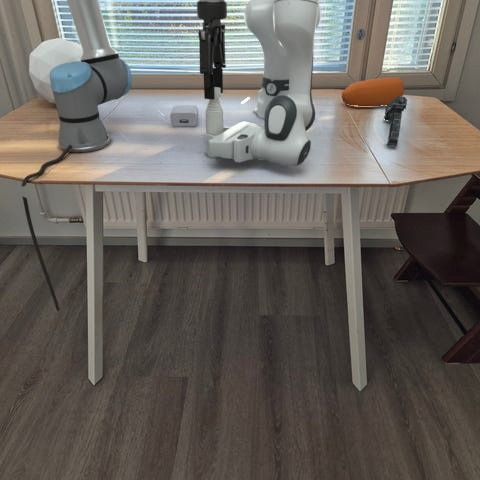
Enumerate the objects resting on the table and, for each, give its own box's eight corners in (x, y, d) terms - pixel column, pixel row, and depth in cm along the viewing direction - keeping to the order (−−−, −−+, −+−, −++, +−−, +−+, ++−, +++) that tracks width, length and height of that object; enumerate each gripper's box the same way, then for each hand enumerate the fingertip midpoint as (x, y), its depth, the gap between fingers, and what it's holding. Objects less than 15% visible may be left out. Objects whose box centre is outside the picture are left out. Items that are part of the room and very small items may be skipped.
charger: (199, 113, 156) (197, 126, 144) (175, 113, 156) (171, 126, 143) (198, 100, 153) (196, 113, 141) (174, 100, 153) (170, 113, 141)
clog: (345, 115, 162) (406, 107, 163) (347, 87, 156) (410, 79, 157) (336, 106, 172) (394, 98, 173) (337, 80, 166) (397, 72, 167)
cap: (216, 98, 112) (215, 91, 111) (204, 96, 113) (204, 89, 112) (223, 95, 115) (223, 88, 113) (211, 93, 116) (211, 86, 115)
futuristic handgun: (389, 146, 153) (397, 104, 149) (399, 145, 125) (409, 94, 122) (379, 144, 154) (386, 103, 150) (386, 144, 126) (395, 93, 122)
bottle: (207, 157, 122) (205, 94, 111) (206, 151, 126) (204, 89, 115) (224, 157, 122) (223, 93, 112) (222, 150, 126) (221, 88, 116)
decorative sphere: (40, 71, 170) (16, 23, 147) (101, 69, 175) (88, 22, 151) (40, 120, 164) (15, 77, 140) (104, 116, 168) (91, 75, 144)
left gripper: (211, -3, 109) (213, 86, 122) (182, 2, 94) (188, 103, 107) (237, -2, 107) (236, 88, 121) (212, 4, 92) (214, 106, 106)
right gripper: (269, 120, 121) (229, 113, 126) (235, 142, 106) (192, 132, 111) (268, 141, 124) (229, 132, 130) (235, 164, 110) (193, 154, 115)
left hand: (213, 95), depth 114 cm, fingers open, 6 cm apart
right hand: (212, 133), depth 120 cm, fingers closed on bottle, 5 cm apart
